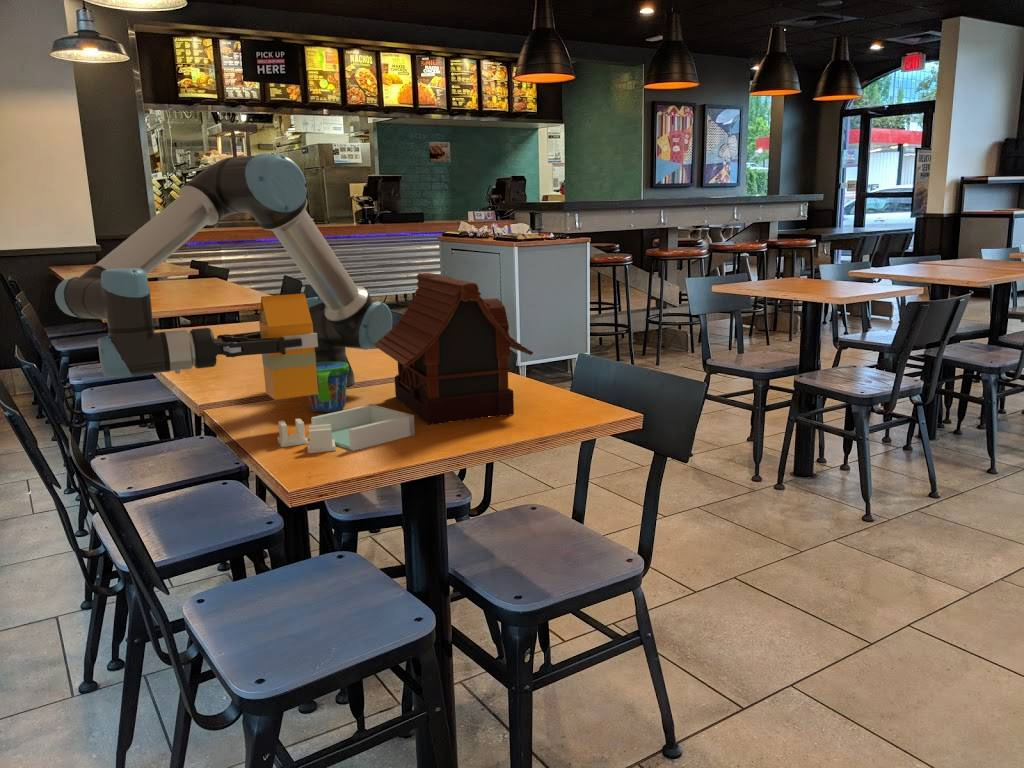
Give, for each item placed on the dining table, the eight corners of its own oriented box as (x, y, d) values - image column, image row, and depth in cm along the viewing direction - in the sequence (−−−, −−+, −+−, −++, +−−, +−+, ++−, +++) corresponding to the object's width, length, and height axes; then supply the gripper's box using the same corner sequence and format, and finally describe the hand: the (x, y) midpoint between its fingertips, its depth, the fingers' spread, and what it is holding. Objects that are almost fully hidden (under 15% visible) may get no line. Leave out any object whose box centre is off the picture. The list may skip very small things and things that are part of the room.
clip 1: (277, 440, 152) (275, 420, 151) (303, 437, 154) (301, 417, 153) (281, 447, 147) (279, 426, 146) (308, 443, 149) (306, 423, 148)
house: (537, 414, 167) (535, 279, 161) (409, 430, 157) (401, 286, 151) (482, 384, 199) (479, 270, 193) (373, 395, 189) (365, 275, 182)
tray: (372, 422, 163) (371, 404, 162) (414, 434, 153) (413, 415, 152) (312, 436, 154) (311, 417, 153) (353, 451, 144) (352, 430, 143)
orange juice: (318, 394, 157) (310, 294, 152) (274, 400, 152) (264, 298, 148) (308, 387, 163) (300, 291, 159) (265, 392, 159) (255, 295, 155)
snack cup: (311, 402, 183) (307, 359, 181) (356, 400, 184) (353, 358, 182) (297, 419, 168) (293, 372, 166) (346, 417, 169) (342, 371, 166)
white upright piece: (308, 453, 143) (306, 432, 142) (307, 445, 148) (306, 425, 147) (335, 450, 144) (334, 429, 143) (334, 443, 149) (333, 423, 148)
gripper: (186, 360, 156) (299, 348, 167) (202, 377, 139) (327, 363, 150) (181, 323, 155) (296, 313, 166) (197, 336, 137) (324, 324, 148)
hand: (310, 337), depth 158 cm, fingers closed on orange juice, 8 cm apart
